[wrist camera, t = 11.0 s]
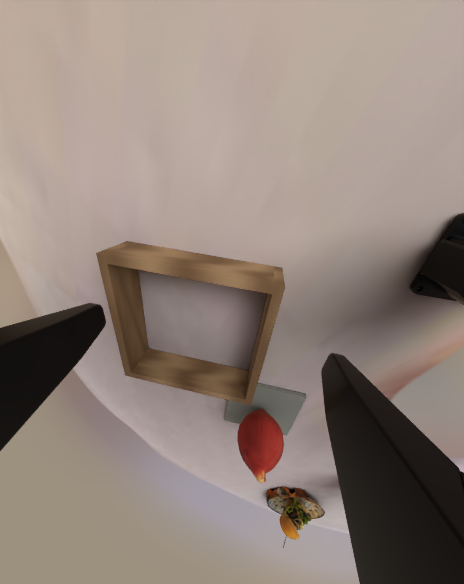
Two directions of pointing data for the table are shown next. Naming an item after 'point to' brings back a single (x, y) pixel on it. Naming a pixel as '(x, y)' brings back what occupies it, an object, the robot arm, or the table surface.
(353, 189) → the table surface
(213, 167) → the table surface
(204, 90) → the table surface
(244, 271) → the open box
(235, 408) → the mat
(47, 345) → the robot arm
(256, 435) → the onion
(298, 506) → the multicoloured rounded piece
